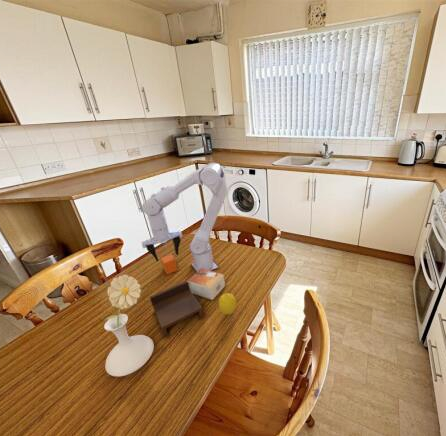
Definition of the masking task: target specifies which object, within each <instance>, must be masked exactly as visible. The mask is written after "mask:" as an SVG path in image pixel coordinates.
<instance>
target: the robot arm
mask: <svg viewBox="0 0 446 436" xmlns="http://www.w3.org/2000/svg"><path fill="white" fill-rule="evenodd" d="M203 184H204V186H205V187H207V188H208V189H209V191H211V193H212V196H211V199H210V201H209V204H208V206H207V209H206V212H205V214H204V217H203V219H202V220H201V224H200V227H199V229H198V230H197V231H196V232H195V234H194V237H193V238H192V241H191V242H190V244H189V250H190V252H191V257H192V261H193V263H191V266H192V267H193V269H194V270H195V271H196V272H198V271H199V270H200V269H205V270H209V271H214V270H216V269H218V267H219V266H218V265H217V264H216V263H215V262H214V257H213V252H212V246H211V244H210V241H211V240H210V239H211V233H212V231H213V228H214V226H215V224H216V220H217V218H218V216H219V214H220V211H221V209H222V206H223V204H224V202H225V200H226V197H227V194H228V185H227V181H226V174H225V171H224V170H223V168H222V166H221V165H220V164H219V163H217V162H213V161H212V162H209V163H207V164H206V166H205V165H204V166H201V167H199V168H198V169H196V170H194V171H192V172H191V173H190V174H188V175H186V176H185V177H184V178H183V179H181V180H180V181H179V182H178V183H176V184H175V185H163V186H162V187H160V190H159V191H158V192H156V193H152V194H151V195H150V197H148V199H146V200H144V202H143V203H142V205H141V210H142V212H143V213H144V214H145V215H147V220H148V222H149V226H150V230H151V233H152V237H151V238H148V239H146V240H143V241H141V245H142V248H143V249H146V250H147V251H148V253H150V254H151V255H152V256H153V258H154V259H155V261H156V262H159V258H158V255H157V252H156V249H155V248H156V247H155V246H154V245H157V244H165V243H167V242H168V241H171V240H172V243H173V248H174V252H175V254H176V256H178V255H179V249H180V245H181V242H182V241H181V238H183V233H182V231H181V230H178V231H174V232H170V230H169V227H168V223H167V219H166V215H165V211H164V208H166V207H168V206H169V205H171V204H172V203H174V202H175V201H177V200H179V198H180V194H181V193H182V192H184V191H186V190H187V189H189V188H191V187H192V186H194V185H198V186H199V185H200V186H202V185H203Z"/></svg>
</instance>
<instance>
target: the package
mask: <svg viewBox="0 0 446 436" xmlns="http://www.w3.org/2000/svg"><path fill="white" fill-rule="evenodd" d="M160 261H161V265H162V268H163V271H164V272H165V274H166V275H169V274H173V273H176V272H177V271H178V270H179V269H178V265H177V262H176V258H175V257H174V256H173V254H172V253H171V254H169V255H168V254H167V255H165V256H163V257H160Z"/></svg>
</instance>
